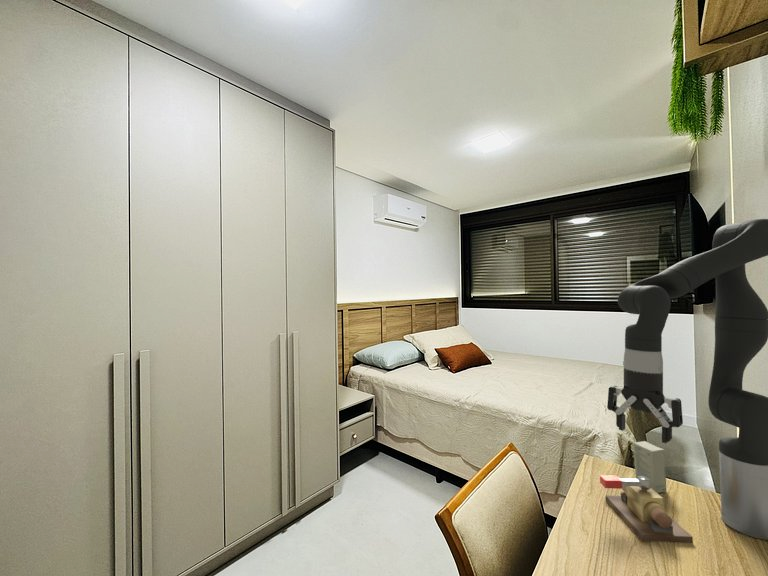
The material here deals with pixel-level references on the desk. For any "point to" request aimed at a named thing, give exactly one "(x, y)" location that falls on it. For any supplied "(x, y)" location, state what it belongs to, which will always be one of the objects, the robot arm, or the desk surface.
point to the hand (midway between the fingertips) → (642, 435)
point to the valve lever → (624, 482)
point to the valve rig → (647, 515)
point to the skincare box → (650, 464)
